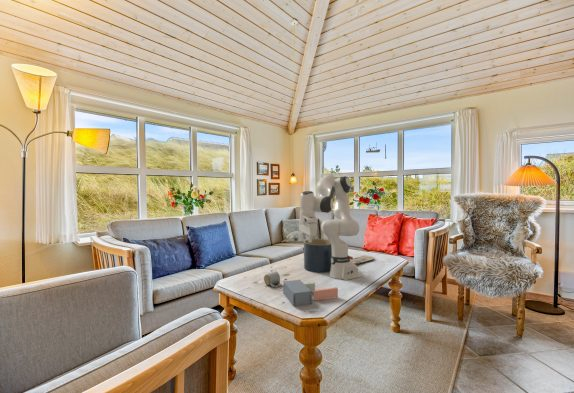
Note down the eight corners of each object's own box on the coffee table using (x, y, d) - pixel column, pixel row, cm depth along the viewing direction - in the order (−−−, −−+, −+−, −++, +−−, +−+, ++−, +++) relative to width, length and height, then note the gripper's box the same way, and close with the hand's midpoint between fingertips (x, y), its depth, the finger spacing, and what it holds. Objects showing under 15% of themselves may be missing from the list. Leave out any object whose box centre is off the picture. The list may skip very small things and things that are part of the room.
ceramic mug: (263, 283, 174) (263, 272, 174) (273, 281, 179) (273, 269, 179) (272, 289, 166) (272, 276, 165) (283, 286, 171) (283, 274, 170)
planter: (332, 264, 217) (332, 239, 216) (334, 273, 195) (334, 245, 194) (304, 263, 219) (304, 238, 218) (303, 272, 197) (303, 244, 196)
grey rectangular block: (300, 291, 163) (300, 279, 162) (312, 303, 146) (312, 290, 145) (283, 293, 159) (283, 281, 159) (293, 306, 142) (293, 293, 142)
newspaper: (363, 257, 240) (363, 253, 240) (376, 260, 230) (376, 256, 230) (338, 265, 216) (338, 260, 216) (351, 268, 207) (351, 264, 207)
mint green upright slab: (313, 290, 162) (314, 282, 162) (314, 291, 161) (314, 283, 161) (291, 293, 158) (291, 284, 158) (292, 294, 157) (292, 285, 156)
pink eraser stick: (336, 296, 155) (336, 287, 154) (337, 296, 153) (337, 288, 153) (313, 299, 150) (313, 290, 150) (314, 300, 149) (314, 291, 149)
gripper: (296, 216, 175) (296, 237, 175) (308, 220, 155) (308, 244, 156) (305, 216, 176) (305, 237, 177) (318, 220, 157) (318, 243, 158)
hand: (307, 240), depth 166 cm, fingers open, 8 cm apart
